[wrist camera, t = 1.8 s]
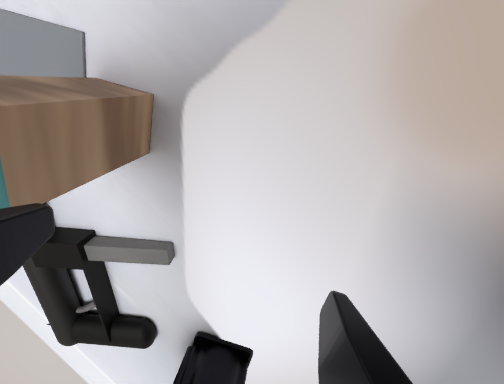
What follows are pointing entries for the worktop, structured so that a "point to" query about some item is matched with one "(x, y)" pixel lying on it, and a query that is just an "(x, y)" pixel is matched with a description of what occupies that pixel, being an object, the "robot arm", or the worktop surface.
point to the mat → (39, 48)
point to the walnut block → (66, 134)
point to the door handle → (91, 286)
